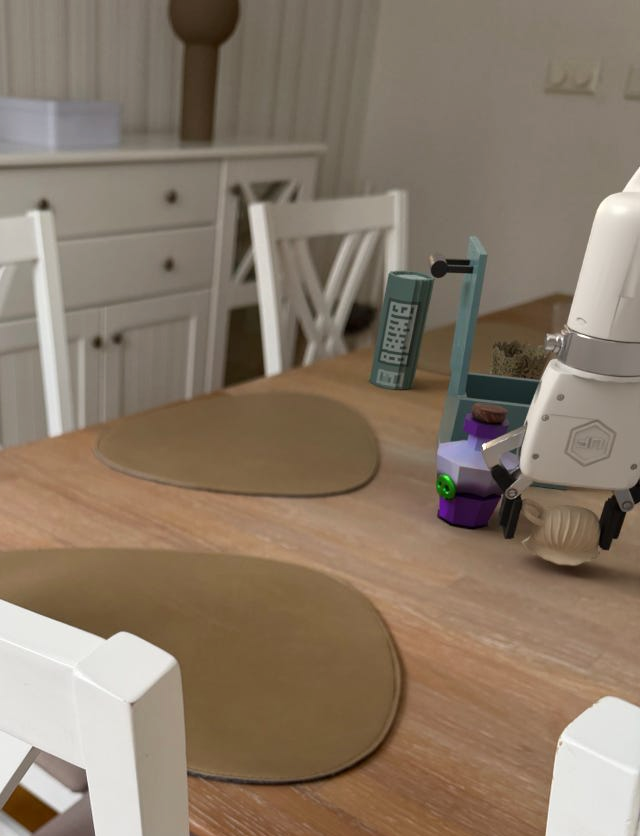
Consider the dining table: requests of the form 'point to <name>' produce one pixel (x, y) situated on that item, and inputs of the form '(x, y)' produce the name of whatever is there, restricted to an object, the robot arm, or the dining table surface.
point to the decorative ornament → (563, 533)
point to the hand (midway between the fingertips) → (554, 537)
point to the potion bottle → (471, 470)
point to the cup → (518, 360)
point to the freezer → (491, 391)
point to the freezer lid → (463, 304)
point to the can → (401, 329)
